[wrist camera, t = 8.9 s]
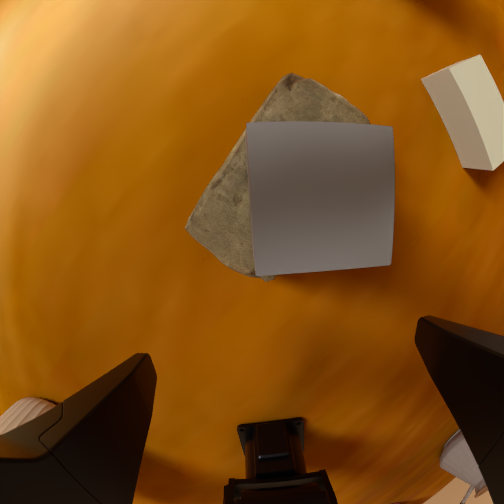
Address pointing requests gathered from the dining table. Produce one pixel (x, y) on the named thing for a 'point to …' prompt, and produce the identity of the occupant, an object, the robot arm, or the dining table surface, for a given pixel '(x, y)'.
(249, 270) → the stone block
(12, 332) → the dining table surface
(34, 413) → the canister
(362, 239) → the gray cube
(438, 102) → the beige brick
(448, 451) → the coffee pot
